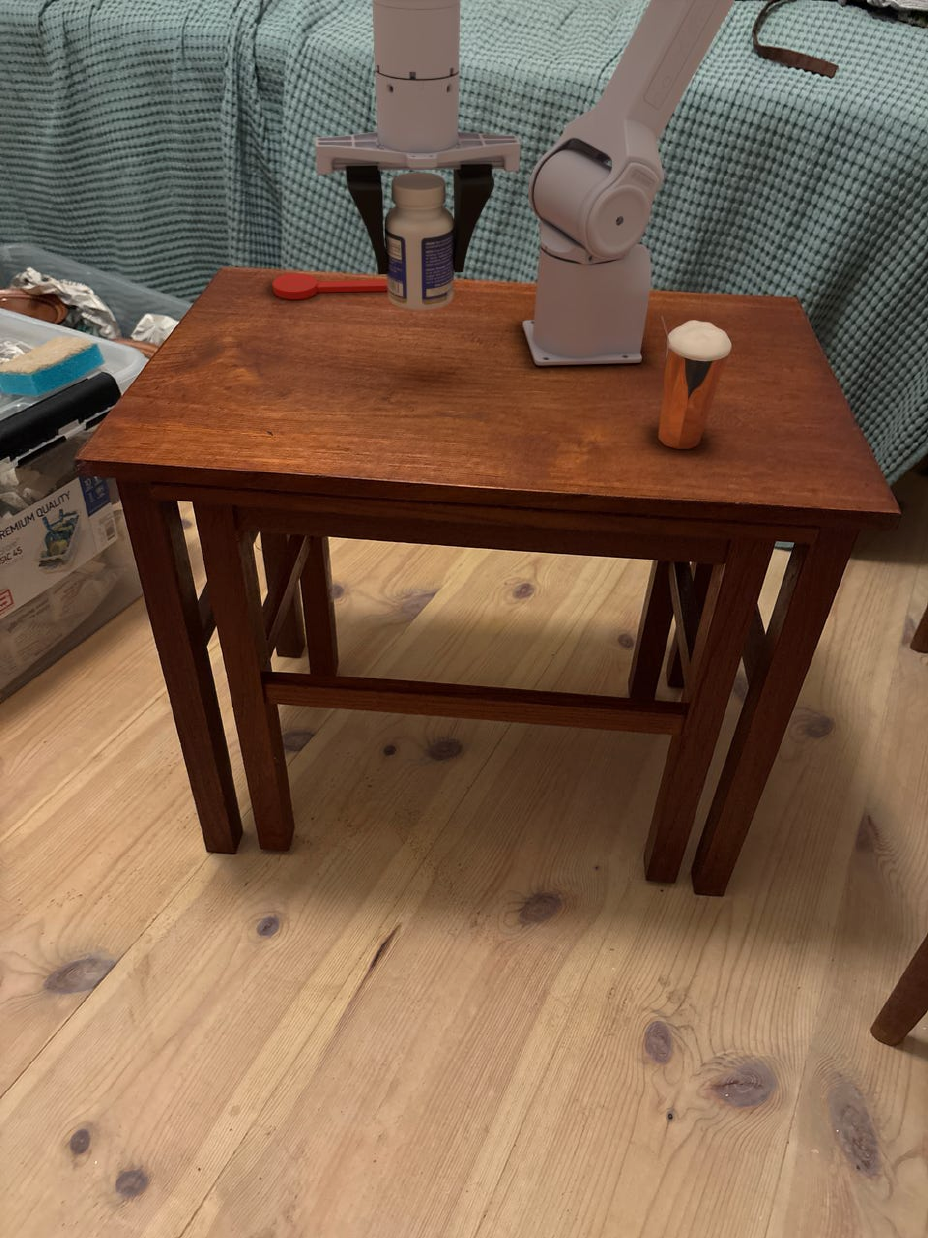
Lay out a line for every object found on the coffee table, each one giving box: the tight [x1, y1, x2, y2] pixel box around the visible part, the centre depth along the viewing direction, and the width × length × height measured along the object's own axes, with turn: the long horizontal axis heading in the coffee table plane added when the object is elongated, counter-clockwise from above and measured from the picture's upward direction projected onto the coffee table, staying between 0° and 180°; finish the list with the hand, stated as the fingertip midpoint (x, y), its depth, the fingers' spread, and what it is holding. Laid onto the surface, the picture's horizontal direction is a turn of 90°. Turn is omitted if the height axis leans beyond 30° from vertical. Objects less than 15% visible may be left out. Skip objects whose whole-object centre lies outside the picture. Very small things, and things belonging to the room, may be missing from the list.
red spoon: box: [272, 272, 387, 300], centre depth 90 cm, size 16×4×1 cm, turn 96°
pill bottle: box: [384, 171, 455, 312], centre depth 70 cm, size 5×5×9 cm
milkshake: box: [657, 316, 732, 450], centre depth 69 cm, size 4×5×10 cm
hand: (419, 268), depth 72 cm, fingers closed on pill bottle, 5 cm apart
